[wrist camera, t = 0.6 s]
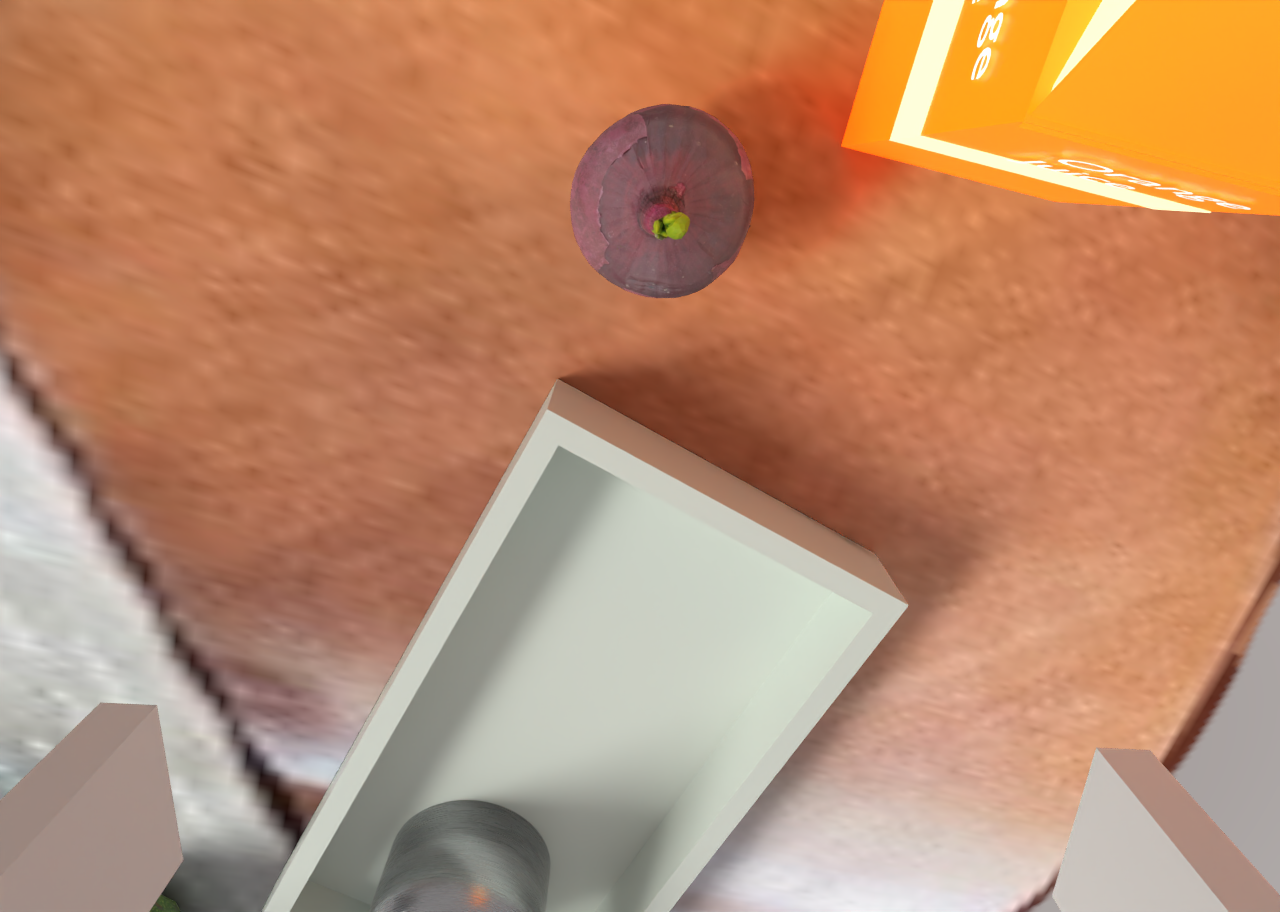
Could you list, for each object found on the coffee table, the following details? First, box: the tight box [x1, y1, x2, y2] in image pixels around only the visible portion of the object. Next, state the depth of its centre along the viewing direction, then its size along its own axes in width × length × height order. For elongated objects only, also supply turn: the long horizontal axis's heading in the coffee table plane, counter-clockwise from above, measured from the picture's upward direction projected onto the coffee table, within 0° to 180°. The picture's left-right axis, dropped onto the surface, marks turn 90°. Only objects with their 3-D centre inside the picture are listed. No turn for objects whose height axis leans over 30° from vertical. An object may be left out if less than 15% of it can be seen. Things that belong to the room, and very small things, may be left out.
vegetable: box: [570, 104, 754, 298], centre depth 26 cm, size 6×6×10 cm
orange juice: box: [841, 0, 1280, 216], centre depth 19 cm, size 8×9×20 cm
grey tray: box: [262, 379, 909, 912], centre depth 36 cm, size 16×30×4 cm, turn 150°
